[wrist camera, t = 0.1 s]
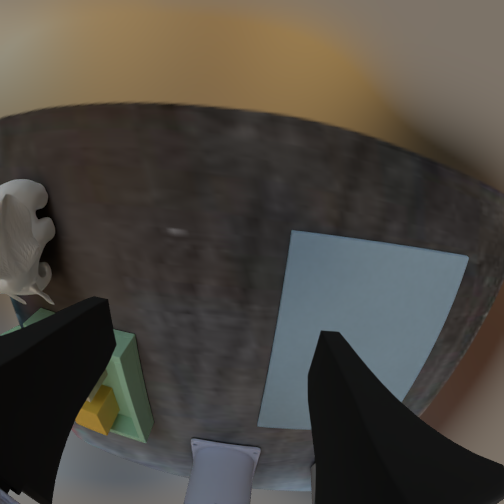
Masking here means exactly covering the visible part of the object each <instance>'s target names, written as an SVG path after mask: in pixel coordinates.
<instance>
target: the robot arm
mask: <svg viewBox="0 0 504 504" xmlns="http://www.w3.org/2000/svg"><path fill="white" fill-rule="evenodd" d="M116 345H117V344H116V339H115V335H114V330H113V325H112V320H111V314H110V309H109V303H108V299H104V298H99V297H95V296H94V297H91V298H88V299H85V300H83V301H81V302H78V303H76V304H74V305H72V306H70V307H67V308H65V309H63V310H61V311H59V312H57V313H55V314H53V315H50V316H48V317H46V318H44V319H42V320H39V321H37V322H35V323H33V324H30V325H28V326H26V327H23V328H21V329H19V330H16V331H13V332H11V333H8V334H5V335H2V336H0V504H20V503H19V502H17V501H16V500H14V499H13V498H12V497H11V496H9V495H8V492H9V490H10V489H11V490H12V491H13V492H15V493H16V494H18V495H20V493H21V492H23V493H25V494H26V495H28V496H29V497H31V498H32V499H34V500H35V501H37V502H38V503H40V504H52V498H53V491H54V485H55V479H56V475H57V471H58V467H59V463H60V459H61V456H62V453H63V450H64V447H65V444H66V441H67V438H68V436H69V433H70V431H71V429H72V426H73V424H74V421H75V419H76V417H77V415H78V413H79V411H80V410H81V408H82V406H83V405H84V403H85V401H86V400H87V398H88V397H89V395H90V393H91V392H92V390H93V388H94V387H95V385H96V384H97V382H98V380H99V379H100V377H101V376H102V374H103V372H104V371H105V369H106V367H107V365H108V363H109V361H110V359H111V357H112V354H113V352H114V350H115V347H116ZM308 407H309V414H310V422H311V430H312V437H313V445H314V453H315V465H316V482H315V504H497V503H498V502H500V501H501V500H503V499H504V466H503V465H502V464H499V463H497V462H494V461H492V460H489V459H487V458H484V457H482V456H479V455H477V454H475V453H472V452H471V451H469V450H467V449H465V448H463V447H462V446H460V445H458V444H456V443H454V442H453V441H451V440H450V439H448V438H446V437H445V436H443V435H442V434H440V433H439V432H437V431H436V430H435V429H433V428H432V427H430V426H429V425H427V424H426V423H425V422H424V421H422V420H421V419H420V418H419V417H417V416H416V415H415V414H414V413H413V412H412V411H410V410H409V409H408V408H407V407H406V406H405V405H403V404H402V403H401V402H400V401H399V400H398V399H397V398H396V397H395V396H394V395H393V394H392V393H391V392H390V391H389V390H388V389H387V388H386V387H385V386H384V385H383V384H382V382H381V381H380V380H379V379H378V378H377V377H376V376H375V375H374V374H373V372H372V371H371V370H370V369H369V368H368V367H367V365H366V364H365V363H364V362H363V361H362V359H361V358H360V357H359V356H358V354H357V353H356V352H355V351H354V349H353V348H352V347H351V346H350V344H349V343H348V342H347V341H346V339H345V338H344V337H343V336H342V335H341V333H340V332H337V331H322V330H321V332H320V335H319V339H318V342H317V346H316V349H315V352H314V356H313V359H312V362H311V366H310V369H309V372H308ZM191 447H192V454H193V461H194V463H193V467H192V471H191V475H190V479H189V483H188V488H187V492H186V496H185V500H184V504H250V499H251V489H252V479H253V476H254V472H255V469H256V466H257V462H258V459H259V455H260V452H261V449H260V448H258V447H250V446H241V445H233V444H225V443H219V442H212V441H207V440H201V439H196V438H193V439H191Z"/></svg>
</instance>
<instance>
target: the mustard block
mask: <svg viewBox="0 0 504 504" xmlns="http://www.w3.org/2000/svg"><path fill="white" fill-rule="evenodd" d="M119 411H120V409H119V406H118V403H117V401H116V398H115V395H114V392H113V389H112V388H111V387H108V386H105V385H101V386H100V388H99V390H98V391H97V393H96V395H95V396H94V398H93V399H92V401H91V402H89V401H85V403H84V405H83V406H82V408H81V410H80V411H79V413H78V415H77V417H76V419H75V421H76V422H77V424H80V425H82V426H84V427H87V428H89V429H91V430H94V431H96V432H99V433H102V434H104V435H108V433H109V431H110V429H111V427H112V425H113V423H114V421H115V419H116V417H117V415H118V413H119Z"/></svg>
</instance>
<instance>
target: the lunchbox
mask: <svg viewBox="0 0 504 504" xmlns="http://www.w3.org/2000/svg"><path fill="white" fill-rule="evenodd" d="M53 314H55V312H52V311H49V310H46V309H43V308H40V309H39V310H38V311H37V312H36V313H34V314H33V315H32V316H31V317H30V318H29V319H28V320H27V321H26V322H24V323H23V326H24V327H26V326H28V325H30V324H33V323H35V322H37V321H39V320H42V319H44V318H46V317H48V316H50V315H53ZM113 330H114V335H115V339H116V344H117V345H116V347H115V350H114V352H113V354H112V357H111V359H110V361H109V363H108V365H107V367H106V370H107V374H108V375H107V377H106V378H105V380H104V382H103V383H102V385H105V386H108V387H111V388H112V389H113V392H114V395H115V398H116V401H117V403H118V406H119V409H120V411H119V413H118V415H117V417H116V419H115V421H114V423H113V425H112V427H111V429H110V432H113V433H116V434H119V435H122V436H125V437H128V438H131V439H134V440H137V441H141V442H144V443H146V442H147V440H148V437H149V434H150V432H151V429H152V426H153V424H154V420H153V416H152V412H151V409H150V405H149V401H148V397H147V392H146V388H145V384H144V379H143V375H142V370H141V365H140V360H139V355H138V349H137V344H136V338H135V334H131V333H127V332H123V331H119V330H115V329H113Z"/></svg>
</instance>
